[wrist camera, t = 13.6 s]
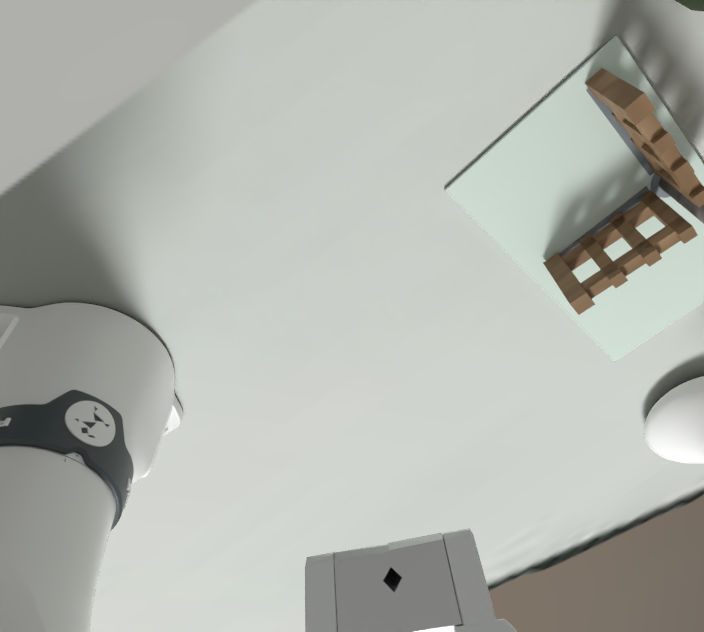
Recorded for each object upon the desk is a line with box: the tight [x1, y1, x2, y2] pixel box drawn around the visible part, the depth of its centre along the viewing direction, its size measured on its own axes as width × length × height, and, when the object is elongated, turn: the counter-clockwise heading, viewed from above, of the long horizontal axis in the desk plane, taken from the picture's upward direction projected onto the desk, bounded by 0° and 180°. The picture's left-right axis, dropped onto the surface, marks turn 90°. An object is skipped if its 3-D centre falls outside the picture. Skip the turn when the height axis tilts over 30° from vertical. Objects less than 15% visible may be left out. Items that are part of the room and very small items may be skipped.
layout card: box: [444, 35, 704, 362], centre depth 48 cm, size 15×25×1 cm, turn 45°
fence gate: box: [543, 191, 698, 315], centre depth 45 cm, size 1×10×6 cm, turn 131°
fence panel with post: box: [585, 68, 704, 224], centre depth 41 cm, size 2×12×7 cm, turn 45°
